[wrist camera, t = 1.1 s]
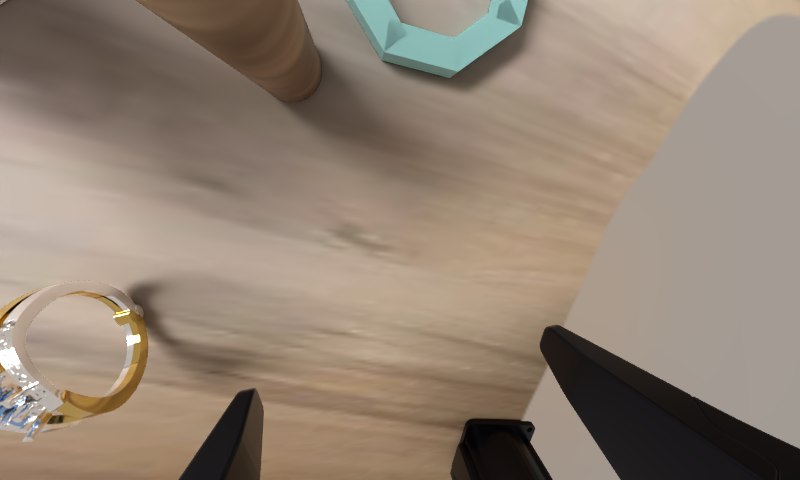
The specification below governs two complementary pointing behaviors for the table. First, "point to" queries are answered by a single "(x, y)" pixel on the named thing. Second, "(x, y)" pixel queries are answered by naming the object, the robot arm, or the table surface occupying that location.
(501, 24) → the teal faceted ring
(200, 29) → the brown peg
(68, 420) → the ring
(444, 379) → the table surface
